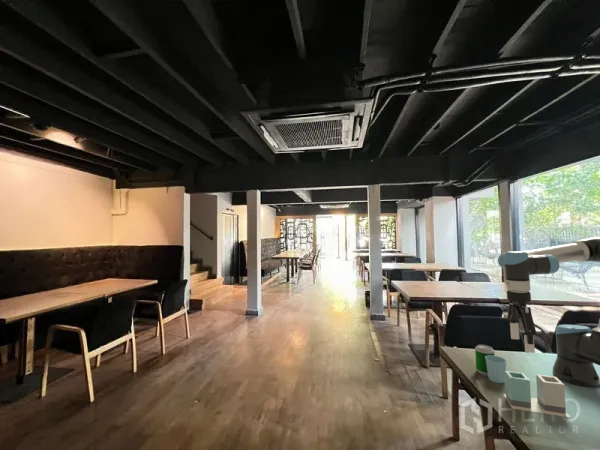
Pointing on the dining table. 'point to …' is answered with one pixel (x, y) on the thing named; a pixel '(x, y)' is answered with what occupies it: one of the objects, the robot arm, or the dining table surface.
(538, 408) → the pin board
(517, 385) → the teal sleeve
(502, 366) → the cup
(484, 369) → the soda can
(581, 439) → the dining table surface
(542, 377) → the grey sleeve
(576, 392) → the dining table surface
